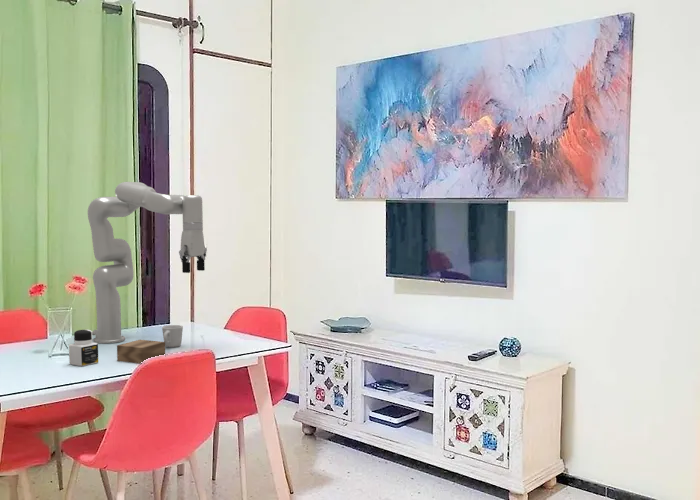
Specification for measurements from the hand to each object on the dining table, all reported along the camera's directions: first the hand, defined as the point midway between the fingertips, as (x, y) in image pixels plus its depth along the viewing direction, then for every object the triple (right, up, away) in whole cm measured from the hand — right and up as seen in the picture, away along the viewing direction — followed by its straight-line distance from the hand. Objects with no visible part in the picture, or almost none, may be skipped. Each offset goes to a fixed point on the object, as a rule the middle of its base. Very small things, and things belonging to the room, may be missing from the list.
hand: (193, 271), depth 271 cm
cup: (-11, -31, +8) cm, 33 cm away
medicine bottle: (-35, -33, -21) cm, 52 cm away
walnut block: (-16, -32, -14) cm, 38 cm away
